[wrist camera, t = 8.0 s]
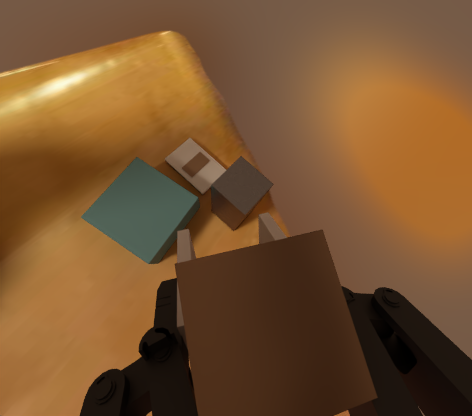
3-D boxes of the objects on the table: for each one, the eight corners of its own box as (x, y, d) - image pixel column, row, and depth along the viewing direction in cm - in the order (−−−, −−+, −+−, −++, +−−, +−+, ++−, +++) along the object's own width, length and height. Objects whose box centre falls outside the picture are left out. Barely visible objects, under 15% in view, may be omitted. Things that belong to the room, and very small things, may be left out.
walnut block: (209, 323, 16) (206, 468, 5) (198, 261, 18) (174, 263, 6) (267, 306, 17) (377, 397, 6) (253, 248, 18) (322, 229, 7)
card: (165, 160, 35) (164, 158, 34) (190, 139, 36) (189, 136, 36) (202, 194, 34) (202, 193, 33) (226, 171, 36) (226, 169, 35)
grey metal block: (211, 210, 34) (211, 184, 22) (231, 190, 35) (241, 156, 23) (233, 231, 33) (244, 215, 22) (253, 209, 34) (273, 184, 23)
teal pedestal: (100, 223, 31) (80, 217, 27) (147, 171, 34) (136, 156, 30) (158, 263, 31) (148, 263, 26) (200, 206, 34) (198, 197, 29)
